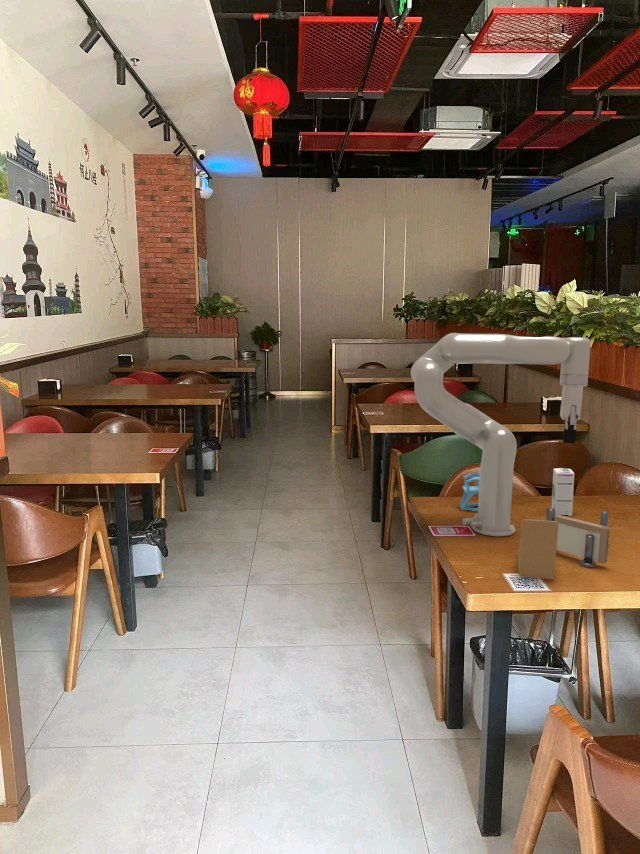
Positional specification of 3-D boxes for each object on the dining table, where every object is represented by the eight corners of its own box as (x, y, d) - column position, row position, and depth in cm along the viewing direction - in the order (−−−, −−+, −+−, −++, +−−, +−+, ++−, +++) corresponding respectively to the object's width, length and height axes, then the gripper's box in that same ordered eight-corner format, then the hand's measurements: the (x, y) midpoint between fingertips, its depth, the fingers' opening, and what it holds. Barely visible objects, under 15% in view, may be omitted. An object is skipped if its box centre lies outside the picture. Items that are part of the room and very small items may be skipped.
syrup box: (572, 516, 210) (575, 472, 207) (553, 515, 210) (556, 471, 208) (568, 511, 215) (571, 468, 213) (550, 510, 216) (553, 467, 213)
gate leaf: (552, 549, 177) (554, 516, 175) (555, 547, 178) (558, 514, 177) (603, 564, 166) (606, 529, 165) (607, 562, 168) (610, 527, 166)
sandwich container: (550, 558, 174) (553, 504, 172) (555, 580, 160) (559, 522, 157) (516, 554, 176) (519, 501, 174) (518, 576, 162) (522, 518, 159)
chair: (458, 505, 221) (459, 471, 219) (483, 505, 221) (484, 471, 219) (462, 512, 213) (463, 476, 211) (487, 512, 213) (489, 477, 211)
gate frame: (569, 570, 166) (573, 525, 163) (535, 548, 181) (538, 507, 178) (641, 562, 171) (645, 519, 169) (601, 542, 186) (605, 502, 184)
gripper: (558, 377, 196) (553, 437, 199) (561, 382, 182) (557, 446, 185) (584, 378, 194) (580, 438, 197) (590, 383, 180) (585, 448, 183)
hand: (569, 442), depth 191 cm, fingers closed
